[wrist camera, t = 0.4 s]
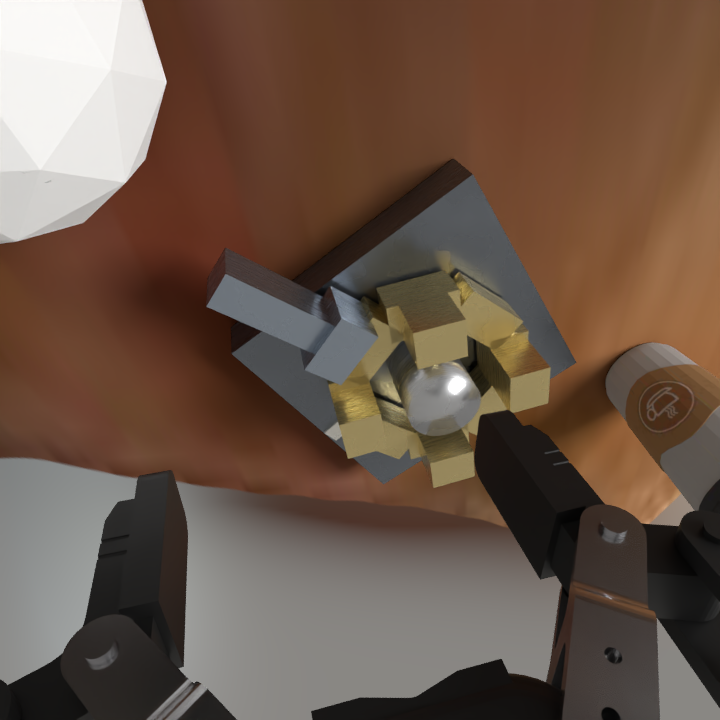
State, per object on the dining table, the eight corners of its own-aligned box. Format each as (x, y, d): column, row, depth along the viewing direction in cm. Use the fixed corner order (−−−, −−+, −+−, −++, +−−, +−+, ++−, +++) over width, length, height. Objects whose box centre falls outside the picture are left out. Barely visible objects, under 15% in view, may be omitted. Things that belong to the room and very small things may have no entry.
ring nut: (547, 327, 35) (590, 374, 31) (432, 451, 40) (456, 506, 36) (275, 157, 26) (286, 194, 22) (166, 348, 30) (157, 407, 26)
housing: (453, 158, 31) (513, 207, 25) (555, 339, 41) (616, 408, 34) (230, 327, 34) (233, 408, 28) (374, 456, 44) (400, 538, 38)
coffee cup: (649, 313, 41) (822, 452, 29) (703, 353, 45) (874, 490, 33) (571, 389, 44) (699, 543, 33) (628, 420, 48) (760, 568, 37)
